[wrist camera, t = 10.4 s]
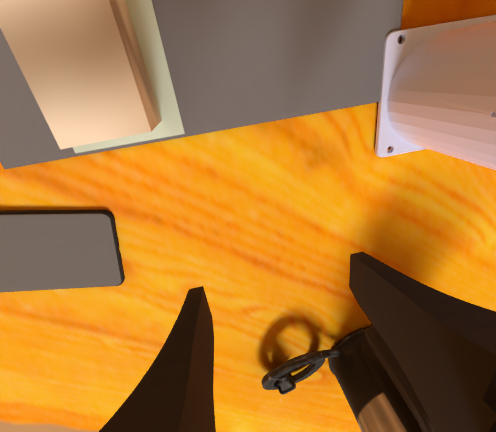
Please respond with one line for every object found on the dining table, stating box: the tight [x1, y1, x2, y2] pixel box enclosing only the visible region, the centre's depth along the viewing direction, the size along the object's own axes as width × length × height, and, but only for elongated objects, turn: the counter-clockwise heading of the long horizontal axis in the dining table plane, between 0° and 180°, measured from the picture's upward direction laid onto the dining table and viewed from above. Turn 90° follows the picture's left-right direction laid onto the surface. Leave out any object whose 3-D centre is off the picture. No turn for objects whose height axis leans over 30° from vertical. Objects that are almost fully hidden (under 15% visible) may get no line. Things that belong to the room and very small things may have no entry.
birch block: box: [0, 0, 162, 149], centre depth 13 cm, size 8×4×4 cm, turn 9°
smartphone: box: [0, 210, 125, 292], centre depth 20 cm, size 7×1×15 cm
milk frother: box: [261, 325, 436, 432], centre depth 25 cm, size 14×16×15 cm
